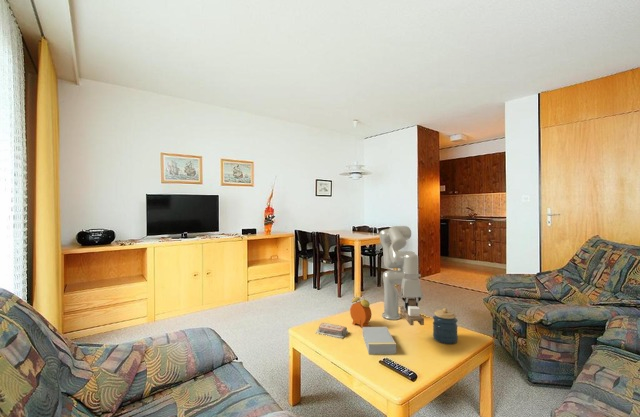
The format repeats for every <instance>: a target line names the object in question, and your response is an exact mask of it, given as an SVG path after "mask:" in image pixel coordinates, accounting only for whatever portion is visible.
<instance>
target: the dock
mask: <svg viewBox="0 0 640 417" xmlns="http://www.w3.org/2000/svg"><path fill="white" fill-rule="evenodd" d="M362 337H363V341H364V344H365V347H366V349H367V353H368V355H397V342H396V341H395V340H394V338H393V336H392V335H391V332H390V331H389V328H388V327H387V326H369V327H363V328H362Z"/></svg>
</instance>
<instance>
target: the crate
mask: <svg viewBox="0 0 640 417" xmlns="http://www.w3.org/2000/svg"><path fill="white" fill-rule="evenodd" d="M420 310H421V309H420V307H419V305H418V306H408V314H409V315H410V316H420V315H421V314H420V313H421V312H420Z"/></svg>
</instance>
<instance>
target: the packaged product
mask: <svg viewBox="0 0 640 417" xmlns="http://www.w3.org/2000/svg"><path fill="white" fill-rule="evenodd" d="M315 332H316V333H315V334H317V333H319V334H318V335H322V334H323V335H322V336H326V335H327V336H328V337H332V338H336V339H344V338H345V337H346V336H347V335H348V333H349V330H348V328H347V326H343V325H338V324H333V323H328V322H321V323H320V324H319V325H318V329H316V330H315Z"/></svg>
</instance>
